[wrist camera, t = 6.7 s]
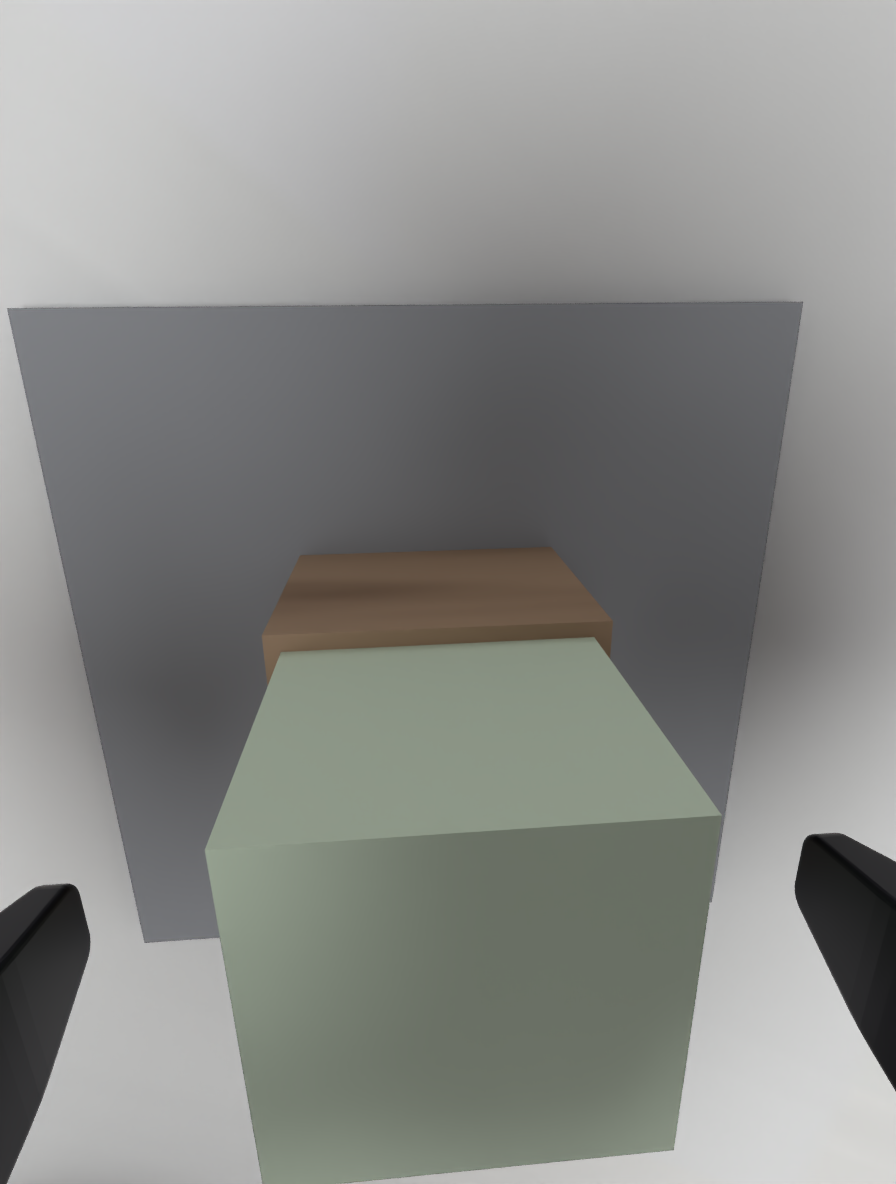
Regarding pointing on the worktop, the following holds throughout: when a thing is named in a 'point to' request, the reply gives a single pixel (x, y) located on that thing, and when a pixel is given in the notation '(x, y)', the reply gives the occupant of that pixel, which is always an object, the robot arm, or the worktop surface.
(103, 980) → the worktop surface
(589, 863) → the sage block
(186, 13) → the worktop surface
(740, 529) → the slate mat
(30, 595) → the worktop surface
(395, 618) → the walnut block
